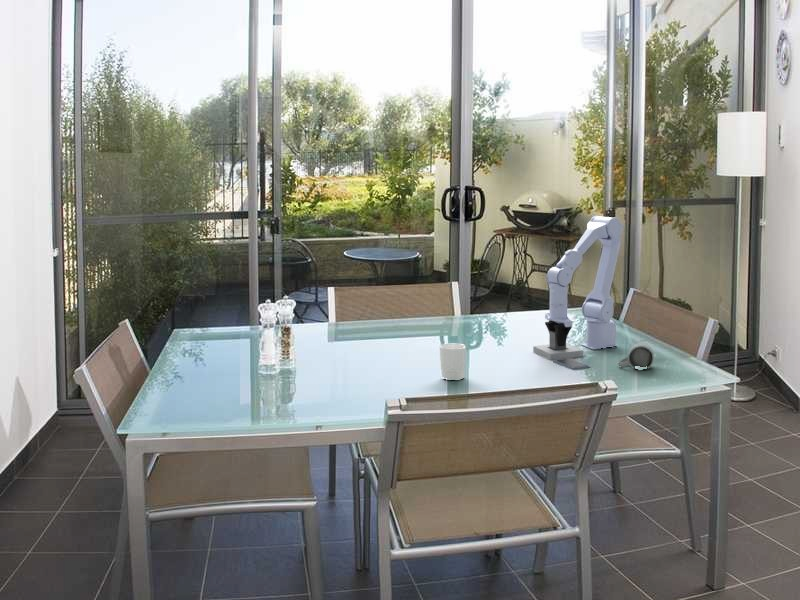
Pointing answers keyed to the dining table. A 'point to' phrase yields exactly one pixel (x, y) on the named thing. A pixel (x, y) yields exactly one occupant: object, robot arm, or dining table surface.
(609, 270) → the robot arm
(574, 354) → the outlet plate
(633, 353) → the ceramic mug
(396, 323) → the dining table surface
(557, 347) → the block
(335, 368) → the dining table surface
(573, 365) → the phone
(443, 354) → the white cup
